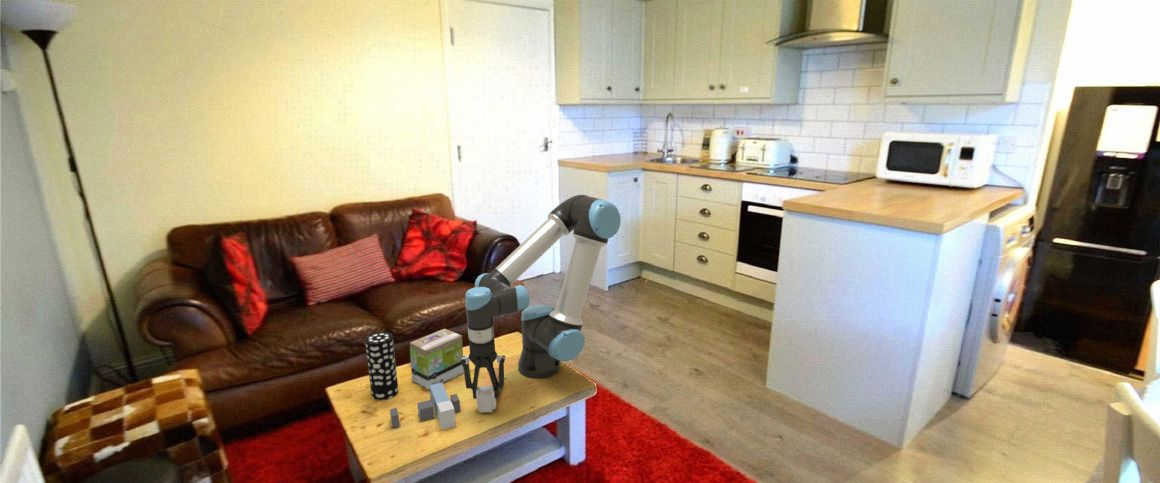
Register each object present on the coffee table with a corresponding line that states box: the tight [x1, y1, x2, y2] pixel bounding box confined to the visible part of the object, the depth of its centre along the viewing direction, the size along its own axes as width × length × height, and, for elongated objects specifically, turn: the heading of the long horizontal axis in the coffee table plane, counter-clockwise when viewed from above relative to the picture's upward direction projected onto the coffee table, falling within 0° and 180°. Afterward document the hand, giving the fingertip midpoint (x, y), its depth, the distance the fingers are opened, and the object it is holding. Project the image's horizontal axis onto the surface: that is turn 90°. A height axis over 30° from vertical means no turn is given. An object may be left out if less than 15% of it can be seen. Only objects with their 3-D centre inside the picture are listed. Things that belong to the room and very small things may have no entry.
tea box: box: [409, 328, 464, 391], centre depth 182 cm, size 15×10×15 cm
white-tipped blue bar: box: [429, 382, 456, 431], centre depth 163 cm, size 4×18×6 cm, turn 25°
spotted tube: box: [364, 331, 399, 401], centre depth 171 cm, size 8×8×20 cm
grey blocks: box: [389, 393, 461, 429], centre depth 161 cm, size 20×4×4 cm, turn 115°
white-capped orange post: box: [478, 367, 499, 413], centre depth 170 cm, size 4×18×6 cm, turn 179°
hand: (487, 406), depth 164 cm, fingers closed on white-capped orange post, 4 cm apart
